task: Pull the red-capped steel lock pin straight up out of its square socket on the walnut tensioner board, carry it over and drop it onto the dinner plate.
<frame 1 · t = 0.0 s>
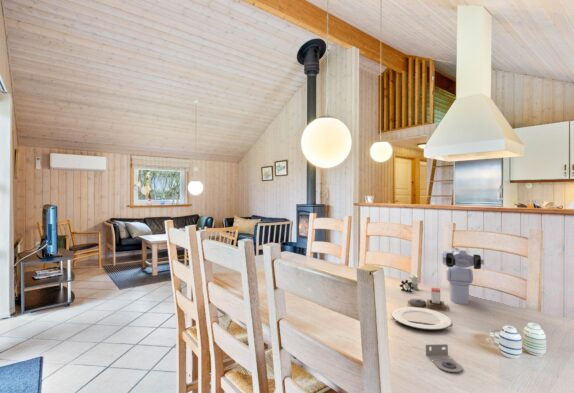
hand: (465, 262, 119), 22 cm above the table, tool horizontal, fingers open, 7 cm apart
lock pin: (435, 306, 130), point 1 cm above the table, touching tensioner board
tensioner board: (427, 307, 131), on the table
valve: (411, 291, 155), on the table
bracket: (445, 364, 89), on the table
plate: (420, 322, 118), on the table
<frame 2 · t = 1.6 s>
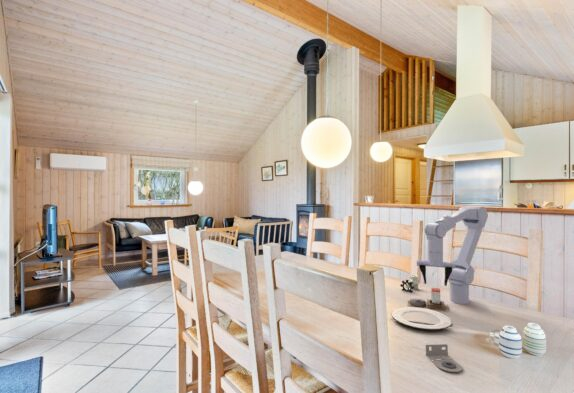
hand: (435, 284, 130), 10 cm above the table, tool pointing down, fingers open, 7 cm apart
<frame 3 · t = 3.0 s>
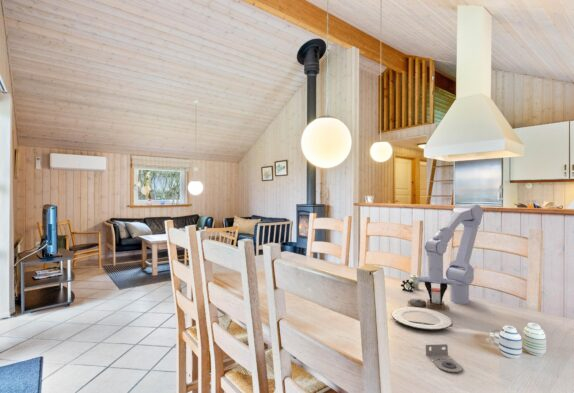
hand: (435, 300, 130), 3 cm above the table, tool pointing down, fingers closed on lock pin, 3 cm apart
lock pin: (435, 306, 130), point 1 cm above the table, touching gripper, tensioner board
when the fingers open (6 cm above the table, at t = 5.3 s): lock pin stays where it is, resting on plate.
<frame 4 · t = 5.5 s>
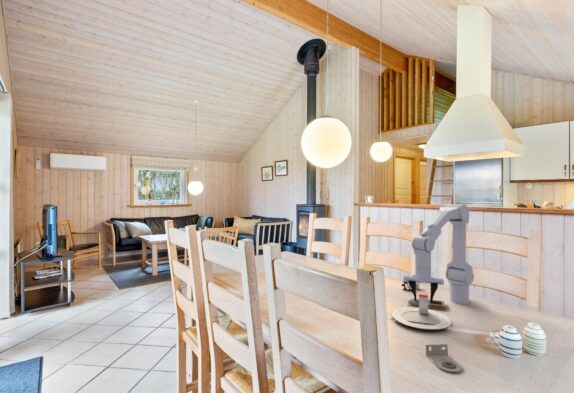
hand: (423, 301, 122), 6 cm above the table, tool pointing down, fingers open, 5 cm apart
lock pin: (423, 312, 123), point 2 cm above the table, touching plate
plate: (420, 322, 118), on the table, touching lock pin
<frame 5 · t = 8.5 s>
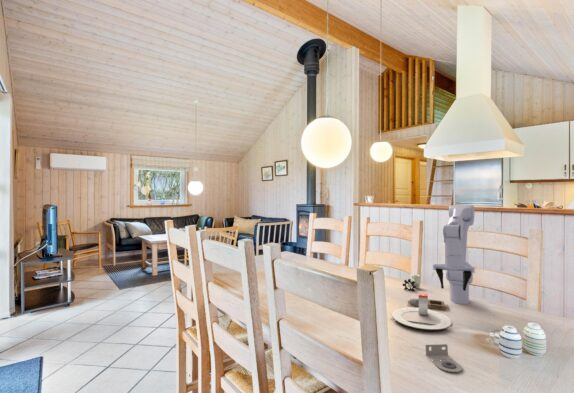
hand: (453, 288, 123), 10 cm above the table, tool pointing down, fingers open, 7 cm apart
at the end: lock pin 4.8 cm from the plate (horizontally); lock pin point 1.5 cm above the table; the gripper is holding nothing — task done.
